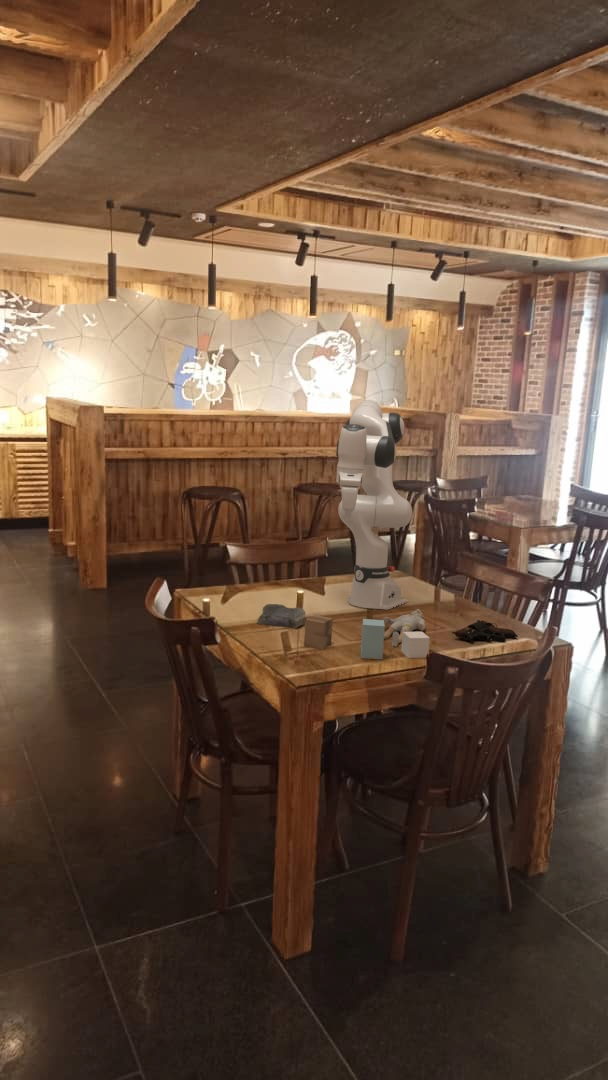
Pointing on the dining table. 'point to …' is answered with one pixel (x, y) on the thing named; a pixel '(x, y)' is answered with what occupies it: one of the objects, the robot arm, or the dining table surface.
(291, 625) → the fossil
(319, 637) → the walnut block
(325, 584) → the dining table surface
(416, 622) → the figurine
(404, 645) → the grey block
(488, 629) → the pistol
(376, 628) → the teal block
